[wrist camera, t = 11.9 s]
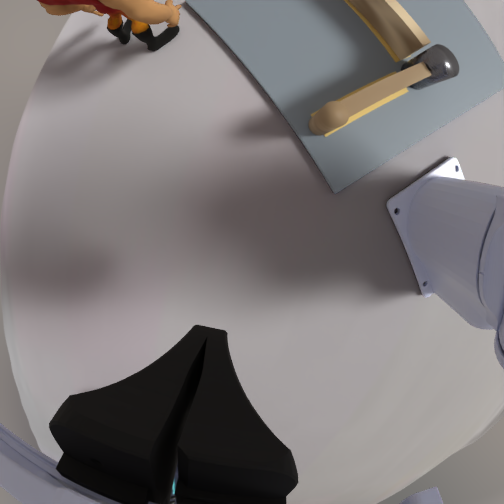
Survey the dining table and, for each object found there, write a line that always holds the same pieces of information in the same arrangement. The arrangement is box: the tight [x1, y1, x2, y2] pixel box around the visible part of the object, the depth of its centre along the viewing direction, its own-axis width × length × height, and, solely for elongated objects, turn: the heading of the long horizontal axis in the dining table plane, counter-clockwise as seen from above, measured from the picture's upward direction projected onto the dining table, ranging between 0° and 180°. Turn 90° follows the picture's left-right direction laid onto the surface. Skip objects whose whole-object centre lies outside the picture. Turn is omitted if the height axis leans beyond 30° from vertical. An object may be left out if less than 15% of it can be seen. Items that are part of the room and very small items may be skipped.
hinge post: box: [401, 44, 459, 90], centre depth 12 cm, size 2×2×4 cm
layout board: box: [185, 0, 504, 194], centre depth 13 cm, size 19×26×1 cm
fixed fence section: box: [308, 62, 432, 136], centre depth 13 cm, size 1×9×4 cm, turn 124°
